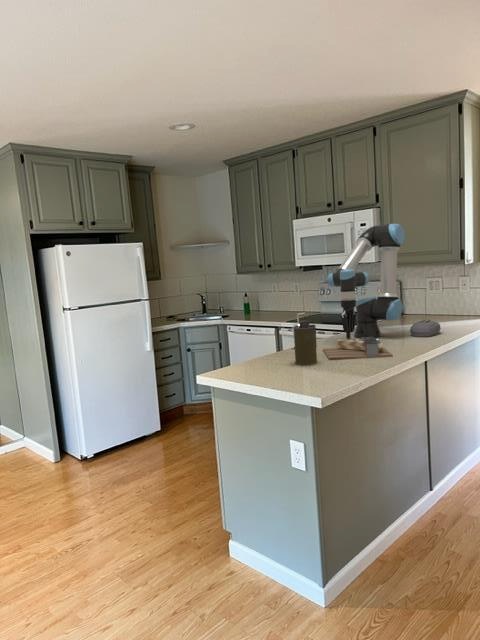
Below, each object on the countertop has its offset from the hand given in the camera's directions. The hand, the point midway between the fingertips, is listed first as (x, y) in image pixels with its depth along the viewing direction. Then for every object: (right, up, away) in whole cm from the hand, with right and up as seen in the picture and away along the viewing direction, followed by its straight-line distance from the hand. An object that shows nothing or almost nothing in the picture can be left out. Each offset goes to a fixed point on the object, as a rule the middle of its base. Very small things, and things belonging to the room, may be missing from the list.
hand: (349, 344), depth 251 cm
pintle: (+10, +2, -16) cm, 19 cm away
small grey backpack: (+50, +4, +29) cm, 58 cm away
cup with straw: (-24, -3, +13) cm, 28 cm away
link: (+3, -2, -9) cm, 9 cm away
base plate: (+1, -4, -11) cm, 11 cm away
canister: (-26, -8, -24) cm, 36 cm away
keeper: (+6, -3, -17) cm, 18 cm away
